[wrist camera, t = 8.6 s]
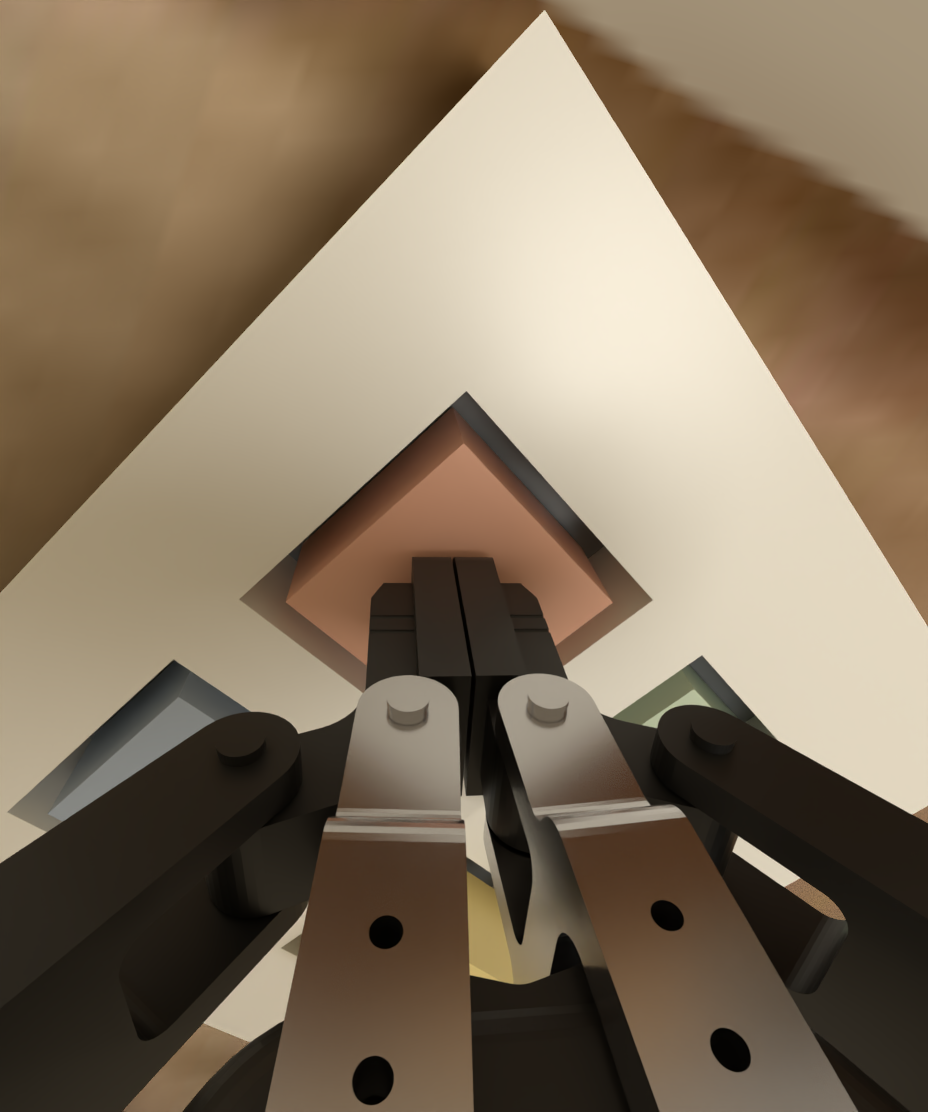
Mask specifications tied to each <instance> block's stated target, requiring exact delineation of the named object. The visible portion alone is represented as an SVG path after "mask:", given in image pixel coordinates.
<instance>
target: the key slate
mask: <svg viewBox="0 0 928 1112" xmlns="http://www.w3.org/2000/svg"><path fill="white" fill-rule="evenodd" d="M243 712H251V711H249V710H248V709H246V708H245V707H243V706H242V705H240V704H239V703H238V702H236V701H235V700H233V699H232V698H230V697H229V696H227V695H226V694H224V693H223V692H221V691H220V690H218V689H217V688H215V687H214V686H212V685H211V684H209V683H208V682H206V681H205V680H203V679H202V678H200V677H199V676H197V675H196V674H194V673H193V672H191V671H190V670H188V669H187V668H186V667H184V666H183V665H181V664H180V663H178V662H177V661H174V662H173V663H172V664H171V665H170V666H168V667H167V668H166V669H165V670H164V671H163V672H162V673H161V674H160V675H159V676H158V677H156V678H155V679H154V680H153V681H152V682H151V683H150V684H149V685H148V686H147V687H146V688H144V689H143V690H142V691H141V692H140V693H139V694H138V695H137V696H136V697H135V698H134V699H132V700H131V701H130V702H129V703H128V704H127V705H126V706H125V707H124V708H123V709H122V710H120V711H119V712H118V713H117V714H116V715H115V716H114V717H113V718H112V719H111V720H109V721H108V722H107V723H106V724H105V725H104V726H103V727H102V728H101V729H100V730H99V731H97V732H96V733H95V734H94V736H93V738H92V739H91V741H90V743H89V745H88V746H87V748H86V750H85V751H84V753H83V755H82V756H81V758H80V760H79V761H78V763H77V765H76V767H75V768H74V770H73V772H72V773H71V775H70V777H69V778H68V780H67V782H66V784H65V785H64V787H63V789H62V790H61V792H60V794H59V795H58V797H57V799H56V800H55V802H54V804H53V806H52V807H51V809H50V811H49V812H48V814H49V815H51V816H53V817H55V818H57V819H58V820H60V821H62V822H63V821H64V820H66V819H67V818H69V817H70V816H72V815H73V814H75V813H76V812H78V811H79V810H81V809H82V808H84V807H85V806H87V805H88V804H90V803H91V802H93V801H94V800H96V799H97V798H99V797H100V796H102V795H103V794H105V793H106V792H108V791H109V790H111V789H112V788H114V787H115V786H117V785H118V784H120V783H121V782H123V781H124V780H126V779H127V778H129V777H130V776H132V775H133V774H135V773H136V772H138V771H139V770H141V769H142V768H144V767H145V766H147V765H148V764H150V763H151V762H153V761H154V760H156V759H157V758H159V757H160V756H162V755H163V754H165V753H166V752H168V751H169V750H171V749H172V748H174V747H175V746H177V745H178V744H180V743H181V742H183V741H184V740H186V739H187V738H189V737H190V736H192V735H193V734H195V733H196V732H198V731H199V730H201V729H202V728H204V727H205V726H207V725H209V724H210V723H212V722H214V721H216V720H218V719H221V718H223V717H226V716H229V715H233V714H238V713H243Z"/></svg>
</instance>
